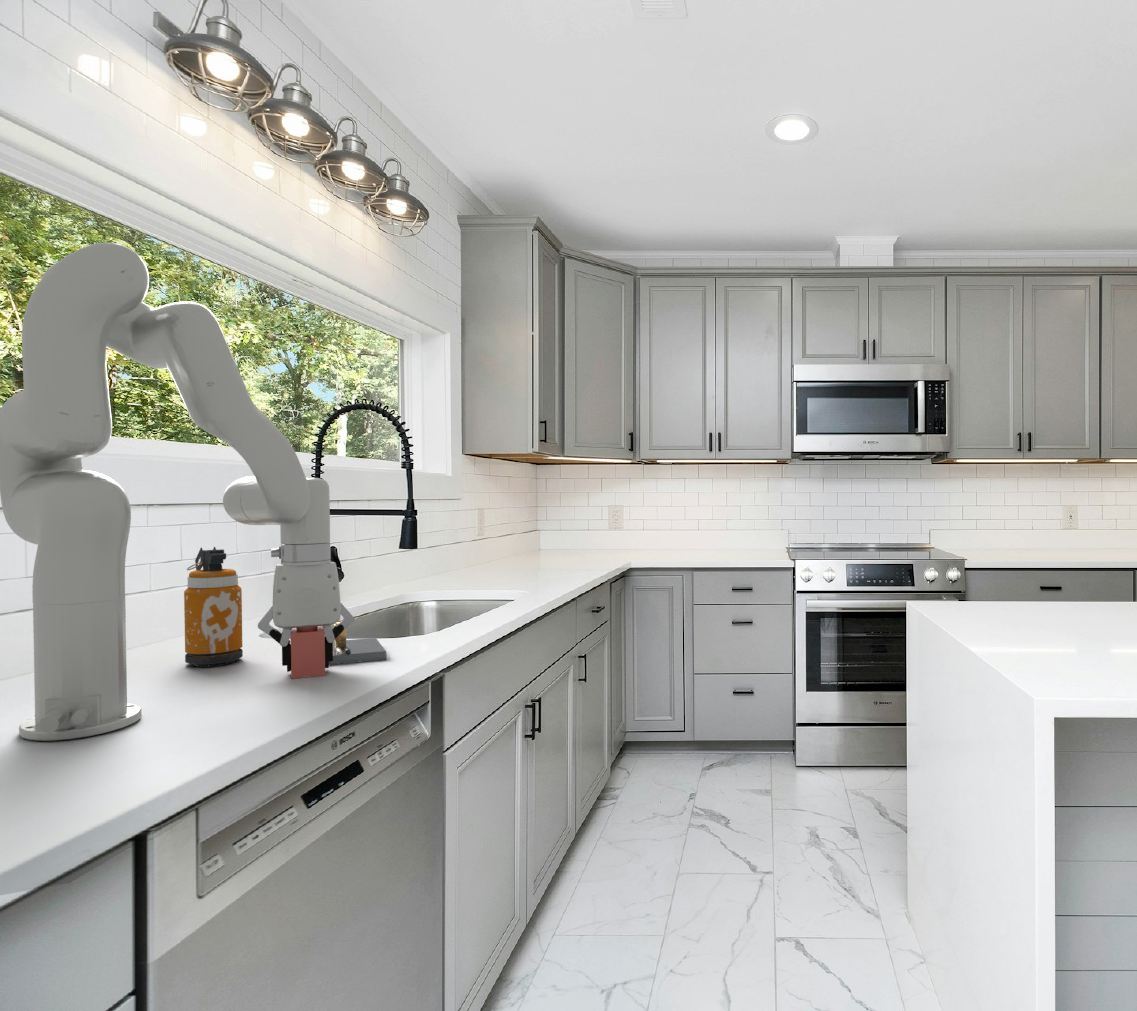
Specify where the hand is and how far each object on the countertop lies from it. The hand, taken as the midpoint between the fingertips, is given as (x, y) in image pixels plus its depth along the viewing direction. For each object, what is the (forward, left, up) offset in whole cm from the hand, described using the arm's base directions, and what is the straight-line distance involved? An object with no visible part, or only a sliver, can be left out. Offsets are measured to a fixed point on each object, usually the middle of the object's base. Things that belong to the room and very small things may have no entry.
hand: (307, 667), depth 117 cm
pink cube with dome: (0, 0, -1) cm, 1 cm away
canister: (+17, +15, -1) cm, 23 cm away
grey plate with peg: (+12, -6, -1) cm, 13 cm away
